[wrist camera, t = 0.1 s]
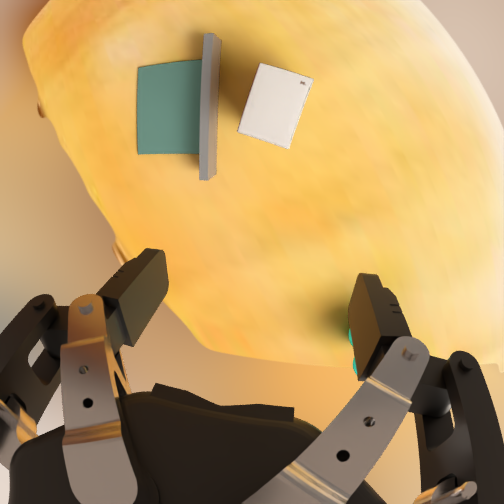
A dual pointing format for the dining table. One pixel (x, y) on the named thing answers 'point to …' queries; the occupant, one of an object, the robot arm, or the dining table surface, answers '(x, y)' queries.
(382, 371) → the robot arm
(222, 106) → the dining table surface
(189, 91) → the mat
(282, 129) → the small box
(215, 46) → the divider wall
